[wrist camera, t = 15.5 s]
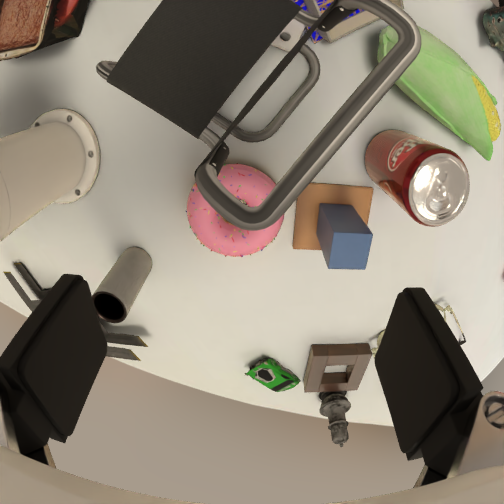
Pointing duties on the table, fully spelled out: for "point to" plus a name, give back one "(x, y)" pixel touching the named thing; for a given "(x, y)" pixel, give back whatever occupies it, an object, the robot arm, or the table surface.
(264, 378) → the toy car
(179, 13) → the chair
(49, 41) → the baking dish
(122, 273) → the grey hollow cylinder
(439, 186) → the soda can
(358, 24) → the blue square ridged piece
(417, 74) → the corn
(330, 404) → the grey chess piece
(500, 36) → the teal bag
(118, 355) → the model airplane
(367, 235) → the peg
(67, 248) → the table surface
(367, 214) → the cork mat
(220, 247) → the doughnut
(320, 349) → the brown square frame
